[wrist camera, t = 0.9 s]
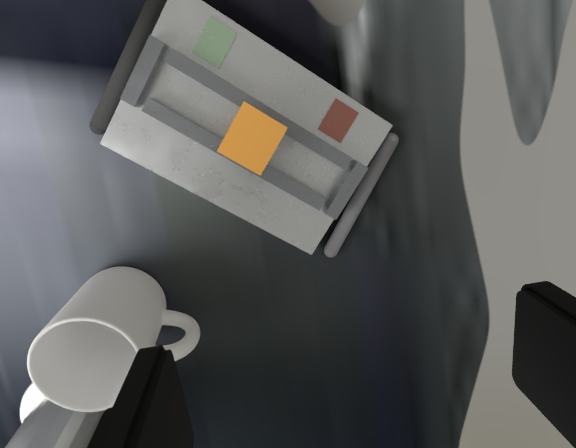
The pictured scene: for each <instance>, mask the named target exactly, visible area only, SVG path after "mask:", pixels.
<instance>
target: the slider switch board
mask: <svg viewBox="0 0 576 448" xmlns="http://www.w3.org/2000/svg"><path fill="white" fill-rule="evenodd" d="M120 99H121V100H120V102H119V104H118V106H117V109H116V111H115V113H114V115H113V117H112V119H111V121H110V123H109V126H108V128H107V130H106V132H105V134H104V136H103V138H102V141H101V143H100V144H102V145H103V146H105V147H107V148H109V149H111V150H113V151H115V152H117V153H119V154H121V155H122V156H124V157H126V158H128V159H130V160H132V161H134V162H136V163H138V164H140V165H141V166H143V167H145V168H147V169H149V170H151V171H153V172H155V173H157V174H159V175H160V176H162V177H164V178H166V179H168V180H170V181H172V182H174V183H176V184H178V185H179V186H181V187H183V188H185V189H187V190H189V191H191V192H193V193H195V194H197V195H198V196H200V197H202V198H204V199H206V200H208V201H210V202H212V203H214V204H216V205H217V206H219V207H221V208H223V209H225V210H227V211H229V212H231V213H233V214H235V215H236V216H238V217H240V218H242V219H244V220H246V221H248V222H250V223H252V224H254V225H255V226H257V227H259V228H261V229H263V230H265V231H267V232H269V233H271V234H273V235H274V236H276V237H278V238H280V239H282V240H284V241H286V242H288V243H290V244H292V245H293V246H295V247H297V248H299V249H301V250H303V251H305V252H307V253H309V254H311V255H312V254H313V252H314V250H315V249H316V247H317V246H318V244H319V242H320V241H321V239H322V238H323V236H324V234H325V233H326V231H327V230H328V228H329V226H330V225H331V223H332V222H333V220H334V219H335V220H337V218H338V216H339V215H340V213H341V212H342V210H343V208H344V207H345V205H346V204H347V202H348V200H349V199H350V197H351V196H352V194H353V192H354V191H355V189H356V188H357V186H358V185H359V183H360V181H361V180H362V178H363V177H364V175H365V173H366V172H367V170H368V169H369V168H368V167H367V166H368V164H369V163H370V161H371V159H372V158H373V156H374V155H375V153H376V151H377V150H378V148H379V147H380V145H381V143H382V142H383V140H384V139H385V137H386V135H387V134H388V132H389V131H390V129H391V127H392V126H393V125H391V124H390V123H388V122H387V121H385V120H384V119H382V118H381V117H379V116H378V115H376V114H375V113H373V112H372V111H370V110H369V109H367V108H366V107H364V106H362V105H361V104H359V103H358V102H356V101H355V100H353V99H352V98H350V97H349V96H347V95H346V94H344V93H343V92H341V91H340V90H338V89H336V88H335V87H333V86H332V85H330V84H329V83H327V82H326V81H324V80H323V79H321V78H320V77H318V76H317V75H315V74H314V73H312V72H311V71H309V70H307V69H306V68H304V67H303V66H301V65H300V64H298V63H297V62H295V61H294V60H292V59H291V58H289V57H288V56H286V55H285V54H283V53H282V52H280V51H278V50H277V49H275V48H274V47H272V46H271V45H269V44H268V43H266V42H265V41H263V40H262V39H260V38H259V37H257V36H256V35H254V34H252V33H251V32H249V31H248V30H246V29H245V28H243V27H242V26H240V25H239V24H237V23H236V22H234V21H233V20H231V19H230V18H228V17H227V16H225V15H223V14H222V13H220V12H219V11H217V10H216V9H214V8H213V7H211V6H210V5H208V4H207V3H205V2H204V1H202V0H167V2H166V4H165V6H164V8H163V10H162V12H161V15H160V17H159V19H158V21H157V23H156V25H155V27H154V30H153V32H152V34H150V35H149V37H148V39H147V41H146V44H145V46H144V48H143V50H142V52H141V54H140V56H139V59H138V61H137V63H136V65H135V67H134V69H133V71H132V74H131V76H130V78H129V80H128V82H127V84H126V86H125V89H124V91H123V93H122V95H121V97H120ZM243 101H245V102H246V103H248V104H249V105H251V106H253V107H254V108H256V109H258V110H259V111H261V112H263V113H264V114H266V115H268V116H269V117H271V118H273V119H274V120H276V121H278V122H279V123H281V124H282V125H284V126H286V127H287V128H288V129H287V130H286V132H285V134H284V136H283V137H282V139H281V141H280V143H279V144H278V146H277V148H276V150H275V151H274V153H273V155H272V157H271V158H270V160H269V162H268V164H267V165H266V167H265V169H264V171H263V172H262V174H261V176H260V175H258V174H256V173H254V172H253V171H251V170H249V169H247V168H245V167H244V166H242V165H240V164H238V163H237V162H235V161H233V160H231V159H229V158H228V157H226V156H224V155H222V154H221V153H219V152H217V150H218V148H219V146H220V144H221V142H222V141H223V139H224V137H225V135H226V133H227V131H228V129H229V127H230V126H231V124H232V122H233V120H234V118H235V116H236V114H237V113H238V111H239V109H240V107H241V105H242V103H243Z"/></svg>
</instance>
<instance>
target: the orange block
mask: <svg viewBox="0 0 576 448" xmlns="http://www.w3.org/2000/svg"><path fill="white" fill-rule="evenodd" d="M287 129H288V128H287V127H286V126H284V125H282V124H281V123H279V122H278V121H276V120H274V119H273V118H271V117H269V116H268V115H266V114H264V113H263V112H261V111H259V110H258V109H256V108H254V107H253V106H251V105H249V104H248V103H246V102H245V101H243V103H242V105H241V107H240V109H239V111H238V113H237V114H236V116H235V118H234V120H233V122H232V124H231V126H230V127H229V129H228V131H227V133H226V135H225V137H224V139H223V141H222V142H221V144H220V146H219V148H218V150H217V152H219V153H221V154H222V155H224V156H226V157H228V158H229V159H231V160H233V161H235V162H237V163H238V164H240V165H242V166H244V167H245V168H247V169H249V170H251V171H253V172H254V173H256V174H258V175H260V176H261V174H262V172H263V171H264V169H265V167H266V165H267V164H268V162H269V160H270V158H271V157H272V155H273V153H274V151H275V150H276V148H277V146H278V144H279V143H280V141H281V139H282V137H283V136H284V134H285V132H286V130H287Z"/></svg>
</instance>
